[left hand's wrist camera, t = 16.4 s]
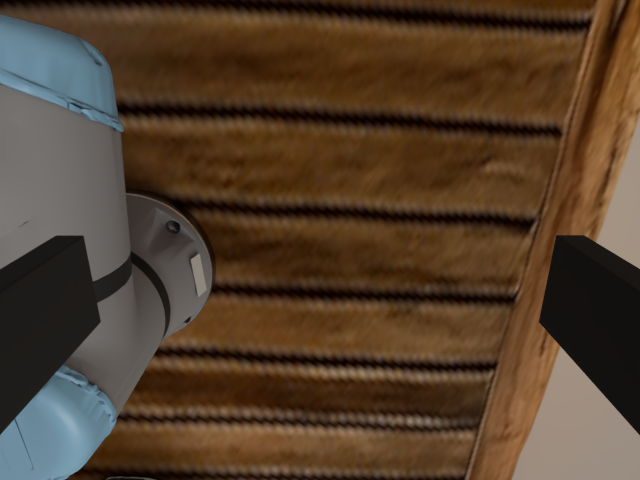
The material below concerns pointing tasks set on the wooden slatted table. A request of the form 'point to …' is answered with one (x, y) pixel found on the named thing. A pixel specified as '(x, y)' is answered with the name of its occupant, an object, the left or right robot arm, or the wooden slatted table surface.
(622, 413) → the left robot arm
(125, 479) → the fossil
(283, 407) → the wooden slatted table surface
